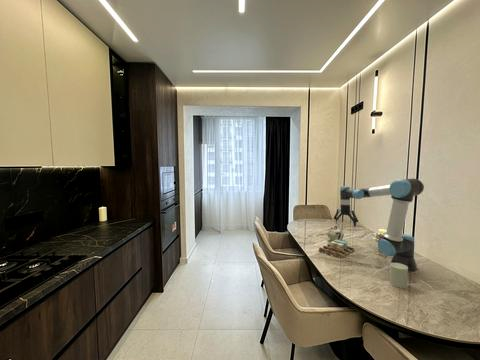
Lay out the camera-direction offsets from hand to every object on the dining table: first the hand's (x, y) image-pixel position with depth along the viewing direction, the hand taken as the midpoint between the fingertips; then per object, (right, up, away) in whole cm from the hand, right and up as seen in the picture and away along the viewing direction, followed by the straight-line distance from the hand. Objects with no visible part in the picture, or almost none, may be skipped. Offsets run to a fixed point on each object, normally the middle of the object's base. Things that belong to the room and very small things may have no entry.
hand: (345, 228), depth 192 cm
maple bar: (-8, -18, -1) cm, 20 cm away
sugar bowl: (+2, -18, +26) cm, 32 cm away
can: (+7, -22, -55) cm, 59 cm away
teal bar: (-3, -18, +4) cm, 18 cm away
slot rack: (-8, -19, 0) cm, 21 cm away
